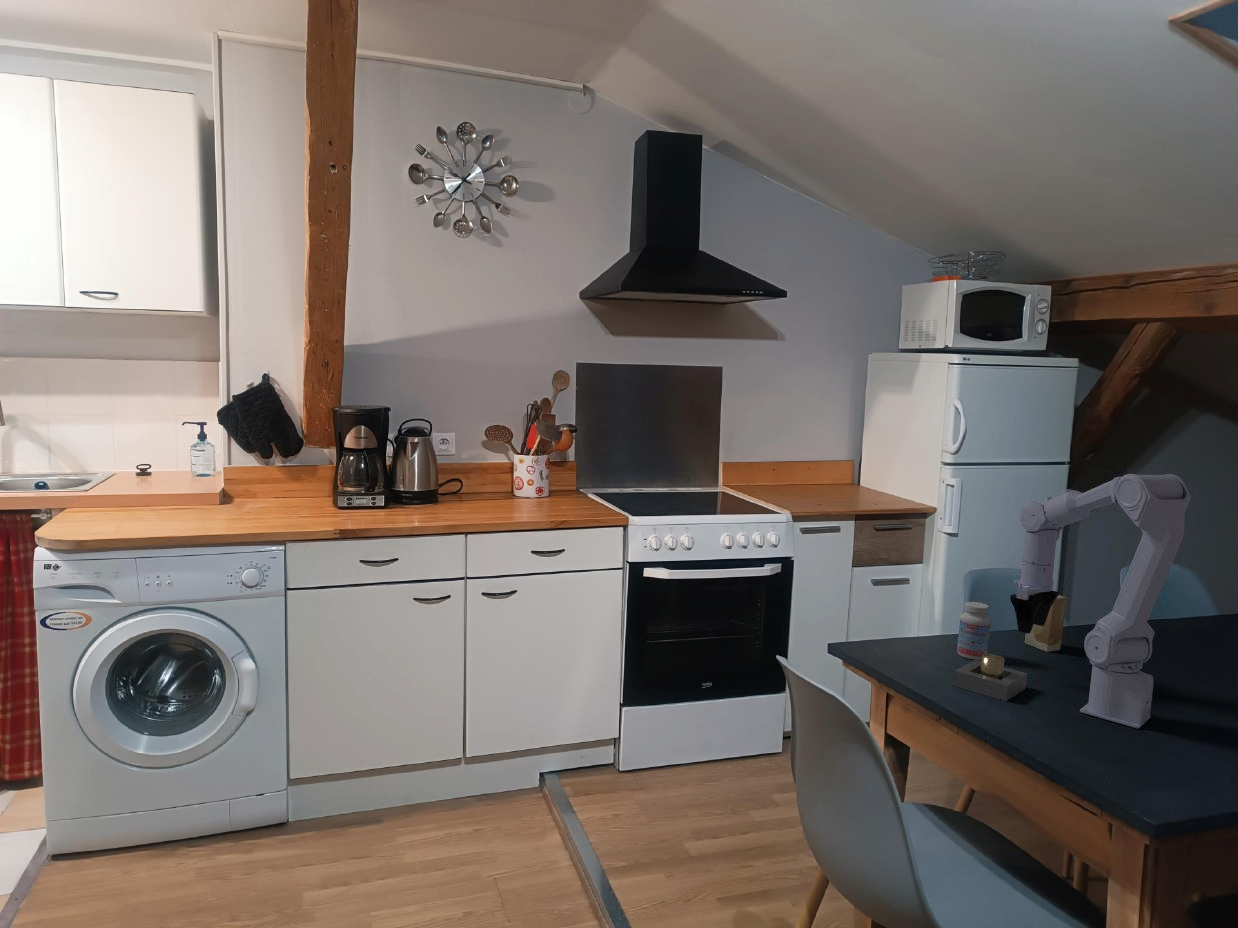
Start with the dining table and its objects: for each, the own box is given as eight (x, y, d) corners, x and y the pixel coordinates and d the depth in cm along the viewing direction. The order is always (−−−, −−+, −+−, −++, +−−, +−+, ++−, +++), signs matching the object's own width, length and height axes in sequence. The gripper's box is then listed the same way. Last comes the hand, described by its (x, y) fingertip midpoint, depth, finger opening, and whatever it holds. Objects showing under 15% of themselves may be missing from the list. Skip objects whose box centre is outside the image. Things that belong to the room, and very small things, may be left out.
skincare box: (1023, 643, 196) (1028, 590, 194) (1037, 641, 198) (1042, 589, 196) (1048, 652, 190) (1054, 598, 188) (1062, 650, 192) (1067, 596, 190)
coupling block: (1025, 688, 167) (1027, 673, 167) (1006, 701, 160) (1007, 685, 160) (974, 673, 174) (975, 659, 174) (953, 685, 167) (954, 670, 167)
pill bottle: (955, 656, 184) (959, 605, 183) (958, 649, 190) (963, 598, 188) (985, 662, 182) (990, 610, 180) (988, 654, 187) (993, 603, 186)
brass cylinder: (1005, 688, 167) (1008, 658, 166) (995, 692, 165) (998, 662, 164) (985, 681, 170) (988, 652, 169) (975, 686, 168) (977, 656, 167)
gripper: (1030, 553, 181) (1024, 617, 183) (1003, 563, 171) (997, 630, 172) (1066, 560, 176) (1059, 625, 178) (1041, 570, 166) (1034, 639, 168)
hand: (1031, 628), depth 175 cm, fingers open, 7 cm apart
